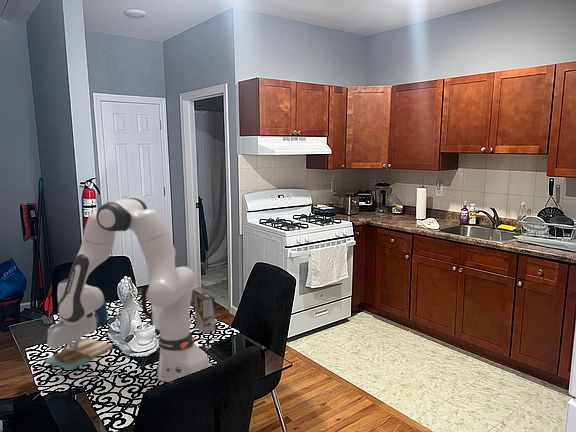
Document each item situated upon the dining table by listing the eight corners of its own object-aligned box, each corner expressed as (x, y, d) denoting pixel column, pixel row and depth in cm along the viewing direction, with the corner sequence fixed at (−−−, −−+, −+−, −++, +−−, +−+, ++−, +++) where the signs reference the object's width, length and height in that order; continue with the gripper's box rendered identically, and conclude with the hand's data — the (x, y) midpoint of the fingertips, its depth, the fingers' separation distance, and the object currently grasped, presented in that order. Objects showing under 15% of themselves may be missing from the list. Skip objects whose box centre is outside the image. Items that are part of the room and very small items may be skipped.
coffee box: (216, 330, 200) (215, 297, 197) (203, 333, 196) (202, 300, 194) (207, 323, 207) (206, 292, 205) (195, 327, 203) (193, 295, 201)
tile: (82, 357, 172) (82, 353, 172) (69, 364, 167) (69, 359, 166) (68, 353, 176) (67, 348, 176) (54, 359, 171) (54, 354, 170)
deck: (112, 348, 181) (112, 344, 180) (90, 360, 171) (90, 355, 171) (86, 341, 188) (86, 337, 187) (64, 352, 178) (63, 347, 177)
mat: (90, 360, 171) (90, 359, 171) (70, 370, 163) (70, 369, 163) (63, 352, 177) (63, 351, 177) (43, 361, 170) (43, 360, 170)
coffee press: (179, 320, 212) (177, 261, 207) (184, 332, 197) (181, 270, 192) (143, 325, 205) (139, 265, 201) (144, 338, 191) (141, 274, 186)
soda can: (107, 320, 211) (105, 297, 210) (107, 325, 205) (106, 301, 203) (92, 322, 209) (90, 299, 207) (92, 327, 202) (90, 303, 201)
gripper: (52, 328, 160) (55, 362, 162) (98, 310, 178) (100, 341, 181) (42, 325, 163) (45, 358, 165) (87, 307, 181) (89, 338, 183)
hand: (74, 349), depth 173 cm, fingers closed
